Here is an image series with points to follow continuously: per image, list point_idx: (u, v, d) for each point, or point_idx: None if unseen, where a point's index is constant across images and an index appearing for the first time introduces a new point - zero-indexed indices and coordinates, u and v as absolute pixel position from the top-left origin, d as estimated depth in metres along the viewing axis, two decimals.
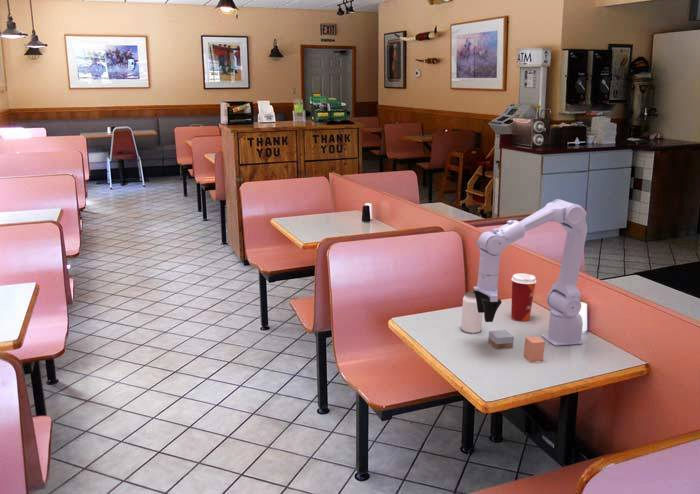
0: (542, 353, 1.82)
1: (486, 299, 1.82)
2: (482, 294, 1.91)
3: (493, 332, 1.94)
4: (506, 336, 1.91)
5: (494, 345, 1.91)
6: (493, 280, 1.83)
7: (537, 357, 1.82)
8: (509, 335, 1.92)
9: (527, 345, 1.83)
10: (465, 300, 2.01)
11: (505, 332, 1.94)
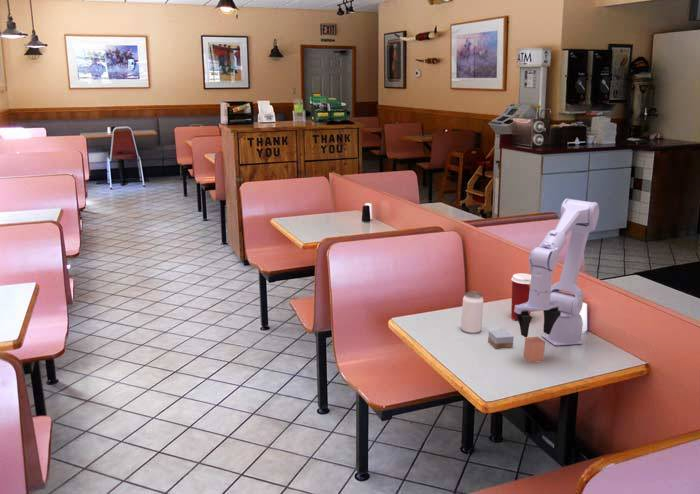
0: (542, 353, 1.82)
1: None
2: (548, 314, 1.82)
3: (493, 332, 1.94)
4: (505, 336, 1.91)
5: (494, 345, 1.91)
6: (532, 295, 1.78)
7: (537, 357, 1.82)
8: (509, 335, 1.92)
9: (527, 345, 1.83)
10: (465, 300, 2.01)
11: (505, 332, 1.94)
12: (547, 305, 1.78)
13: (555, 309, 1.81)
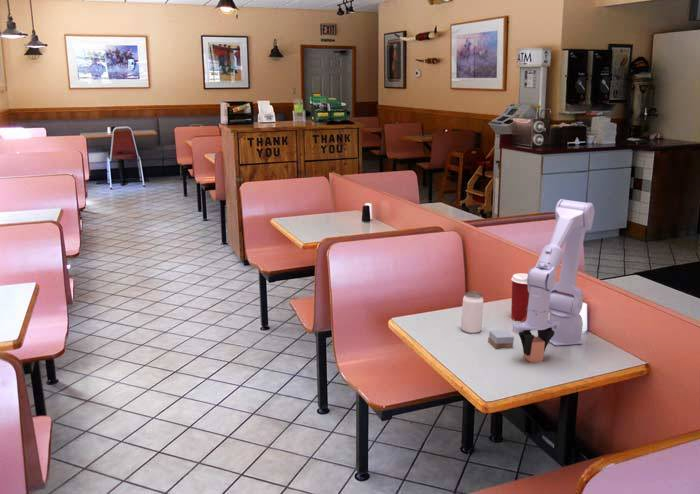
0: (542, 353, 1.82)
1: None
2: (541, 333, 1.83)
3: (493, 332, 1.94)
4: (506, 336, 1.91)
5: (494, 345, 1.91)
6: (530, 315, 1.79)
7: (537, 357, 1.82)
8: (509, 335, 1.92)
9: None
10: (465, 300, 2.01)
11: (506, 332, 1.94)
12: (545, 325, 1.79)
13: (549, 329, 1.82)
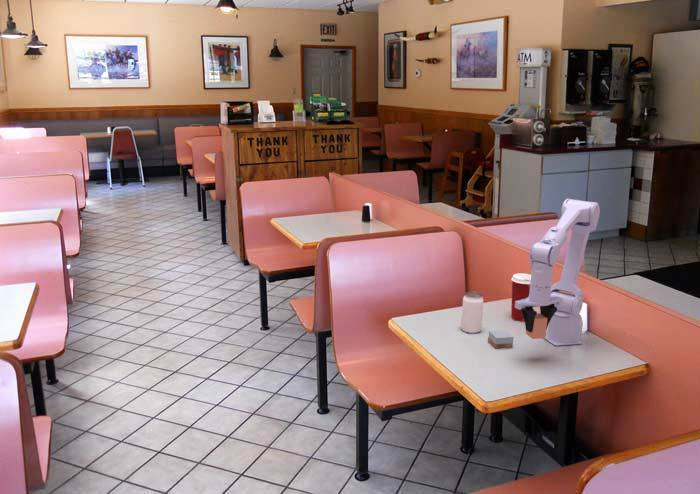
0: (545, 330, 1.80)
1: None
2: (544, 310, 1.82)
3: (493, 332, 1.94)
4: (505, 336, 1.91)
5: (494, 345, 1.91)
6: (533, 291, 1.77)
7: (540, 334, 1.80)
8: (509, 335, 1.92)
9: None
10: (465, 300, 2.01)
11: (505, 332, 1.94)
12: (548, 300, 1.78)
13: (551, 305, 1.81)
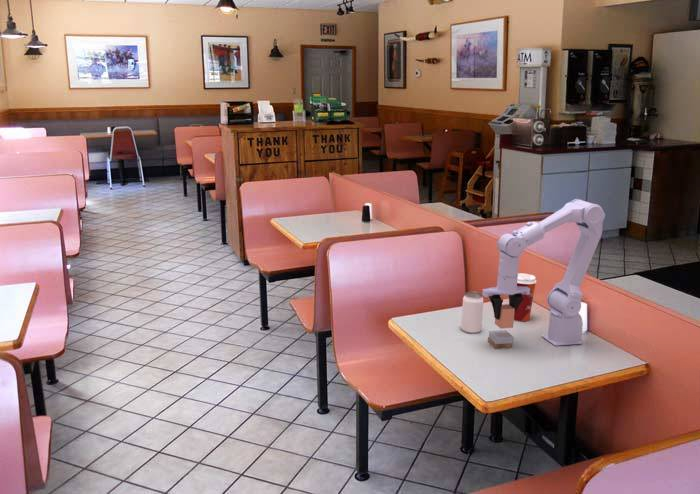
0: (512, 320, 1.89)
1: None
2: (512, 299, 1.90)
3: (493, 332, 1.94)
4: (505, 336, 1.91)
5: (494, 345, 1.91)
6: (499, 280, 1.87)
7: (508, 324, 1.89)
8: (509, 335, 1.92)
9: None
10: (465, 300, 2.01)
11: (505, 332, 1.94)
12: (514, 290, 1.86)
13: (519, 294, 1.89)
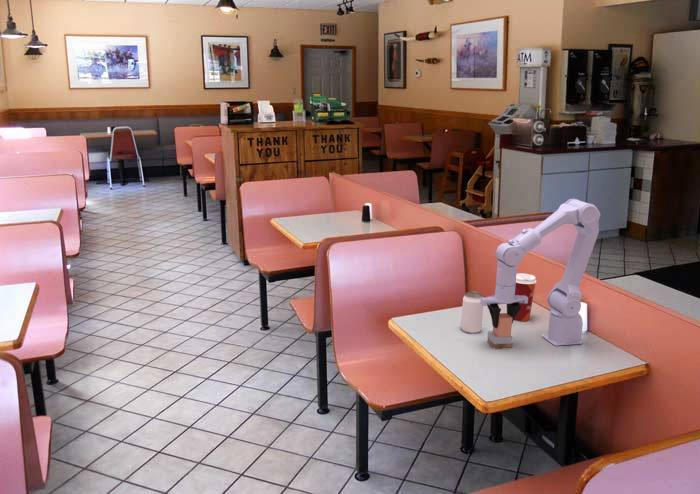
0: (510, 328, 1.90)
1: None
2: (509, 307, 1.91)
3: (492, 332, 1.94)
4: None
5: (493, 345, 1.91)
6: (497, 289, 1.88)
7: (505, 332, 1.90)
8: None
9: None
10: (465, 300, 2.01)
11: None
12: (511, 298, 1.87)
13: (516, 303, 1.90)
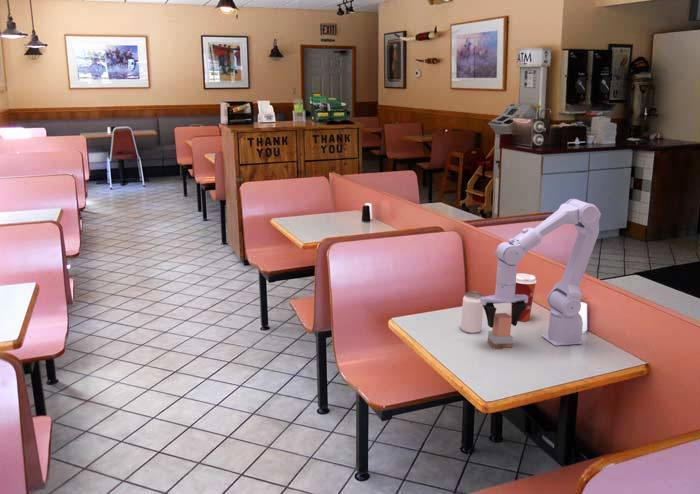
0: (509, 328, 1.90)
1: None
2: (514, 306, 1.92)
3: (492, 332, 1.94)
4: None
5: (493, 345, 1.91)
6: (497, 288, 1.88)
7: (504, 332, 1.90)
8: None
9: (495, 320, 1.92)
10: (465, 300, 2.01)
11: None
12: (511, 298, 1.87)
13: (521, 302, 1.91)
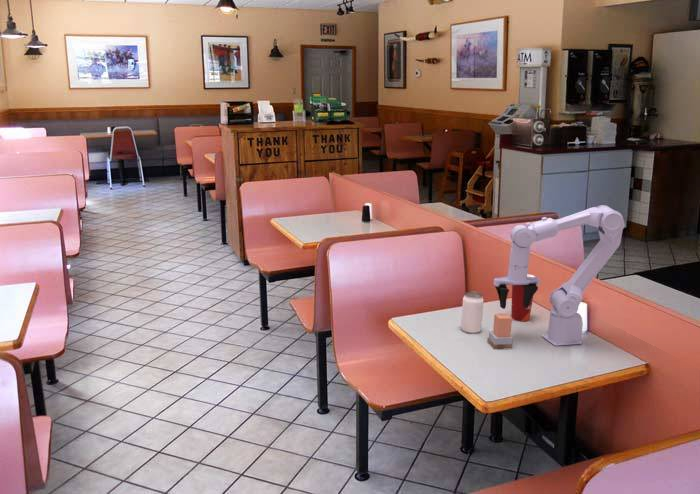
0: (509, 329, 1.90)
1: None
2: (526, 288, 1.96)
3: None
4: (504, 337, 1.91)
5: (493, 346, 1.91)
6: (510, 270, 1.92)
7: (505, 333, 1.90)
8: None
9: (495, 321, 1.92)
10: (465, 300, 2.01)
11: None
12: (524, 279, 1.91)
13: (533, 284, 1.95)
